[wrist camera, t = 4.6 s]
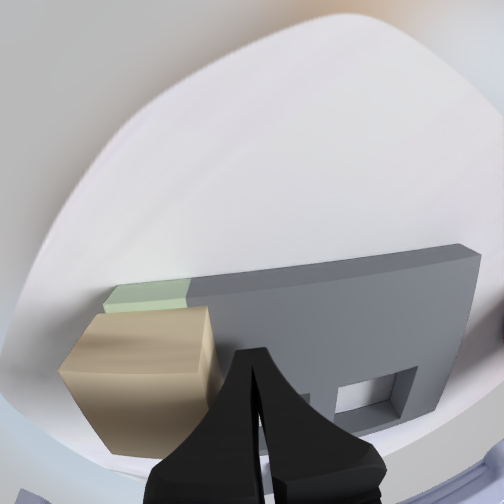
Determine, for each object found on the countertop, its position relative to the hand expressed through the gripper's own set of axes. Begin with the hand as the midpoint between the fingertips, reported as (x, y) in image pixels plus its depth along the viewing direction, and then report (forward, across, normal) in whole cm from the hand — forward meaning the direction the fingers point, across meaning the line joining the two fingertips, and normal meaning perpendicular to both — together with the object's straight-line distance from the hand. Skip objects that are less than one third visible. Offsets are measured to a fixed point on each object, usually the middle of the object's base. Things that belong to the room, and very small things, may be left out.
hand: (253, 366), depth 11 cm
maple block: (+1, +4, 0) cm, 4 cm away
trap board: (+3, -3, +3) cm, 5 cm away
